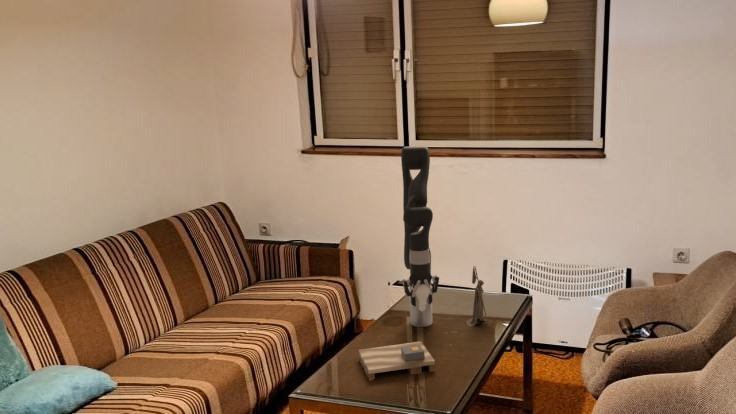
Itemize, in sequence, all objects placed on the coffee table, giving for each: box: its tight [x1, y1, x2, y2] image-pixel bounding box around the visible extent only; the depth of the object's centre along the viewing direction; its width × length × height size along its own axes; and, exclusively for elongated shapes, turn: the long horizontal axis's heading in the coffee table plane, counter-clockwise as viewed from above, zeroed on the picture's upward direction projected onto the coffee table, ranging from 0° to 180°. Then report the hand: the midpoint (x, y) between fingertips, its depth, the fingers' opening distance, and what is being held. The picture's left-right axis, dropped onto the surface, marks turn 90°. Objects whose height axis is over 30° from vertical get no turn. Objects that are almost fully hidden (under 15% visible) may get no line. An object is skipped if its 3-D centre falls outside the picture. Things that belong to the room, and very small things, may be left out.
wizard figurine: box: [466, 265, 489, 327], centre depth 293 cm, size 10×8×25 cm
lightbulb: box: [414, 284, 430, 311], centre depth 263 cm, size 6×6×11 cm
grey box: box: [401, 345, 425, 362], centre depth 256 cm, size 6×7×3 cm
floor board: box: [358, 340, 436, 381], centre depth 260 cm, size 18×24×4 cm
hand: (421, 304), depth 264 cm, fingers closed on lightbulb, 5 cm apart
